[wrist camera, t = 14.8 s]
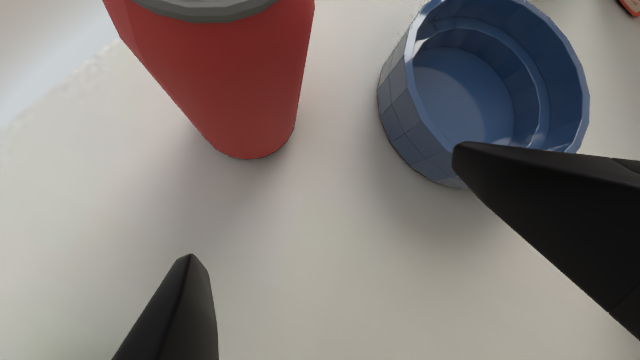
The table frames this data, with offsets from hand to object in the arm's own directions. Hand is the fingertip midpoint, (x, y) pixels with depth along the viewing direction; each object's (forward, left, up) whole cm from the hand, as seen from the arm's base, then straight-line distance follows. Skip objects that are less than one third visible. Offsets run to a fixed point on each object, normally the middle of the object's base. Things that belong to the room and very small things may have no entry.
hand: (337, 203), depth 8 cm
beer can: (+1, +8, -10) cm, 13 cm away
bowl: (+15, -1, -10) cm, 18 cm away
